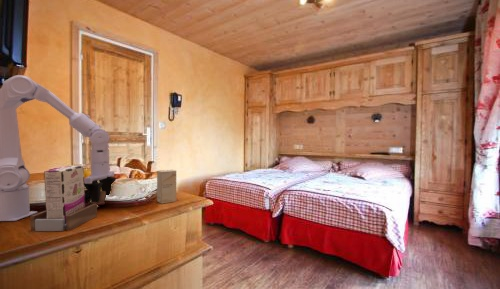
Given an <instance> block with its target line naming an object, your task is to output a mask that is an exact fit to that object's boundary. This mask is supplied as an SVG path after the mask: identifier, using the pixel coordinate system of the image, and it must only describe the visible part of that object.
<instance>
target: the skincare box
mask: <svg viewBox="0 0 500 289" xmlns="http://www.w3.org/2000/svg"><path fill="white" fill-rule="evenodd" d="M156 173H157V174H156V176H157V177H156V181H157V184H156V185H157V186H156V191H157V192H156V200H157V202H158V203H160V204H168V203H174V202H177V170H175V169H165V170H157V171H156Z"/></svg>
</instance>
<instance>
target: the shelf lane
mask: <svg viewBox="0 0 500 289" xmlns="http://www.w3.org/2000/svg"><path fill="white" fill-rule="evenodd" d="M96 217H98V207H97V204H96V203H92V204H90V205H87V206H85V208H83V209H81V210H79V211H76V212H74V213H72V214H70V215H67V216H66V228H67V229H66V231H67V232H68V231H72V230H74V229H76V228H78V227H79V226H81V225H83V224H86V223H87V222H88V221H91V220H92V219H94V218H96ZM36 219H47V218H46V209H45V210H42V211H40V212H37V213H35V214H33V215H30V231H31V232H33V231H35V220H36ZM35 232H36V231H35Z"/></svg>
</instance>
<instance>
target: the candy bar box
mask: <svg viewBox="0 0 500 289" xmlns="http://www.w3.org/2000/svg"><path fill="white" fill-rule="evenodd" d="M84 175H85V169H84V165H82V164H79V165H75V164H74V165H72V164H71V165H67V166H60V167H57V168H54V169H48V170H44V172H43V177H44V196H45V210H46V218H47V219H65V224H66V216H67V215H70V214H72V213H74V212H76V211H79V210H81V209H83V208H85V207H86V197H85V196H86V194H85V186H84V183H85V176H84Z"/></svg>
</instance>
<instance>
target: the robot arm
mask: <svg viewBox="0 0 500 289" xmlns="http://www.w3.org/2000/svg"><path fill="white" fill-rule="evenodd" d="M33 100H36V101H39V102H43V103H46V104H48V105H49V106H50V107H52V108H53V109H55V110H56V111H57V112H59V113H60V114H61V115H62V116H64V117H65V118H67V119H68V124H69V126H70V127H72V128H73V129H74V130H76V131H77V132H78V133H80V134H81V135H82V136H84V137H85V138H89V141H90V142H91V149H90V175H88V176H87V177H84V189H86V191H87V192H88V194H89V197H90V200H91V202H92V203H96V202H99V199H100V191H106V195H109V194H110V195H111V193H110V191H111V192H112V189H111V184H112V183H113V182H114V181H115V182H116V179H117V178H116V177H115V171H111V170H110V149H109V145H110V144H109V143H108V142H110V135H109V133H108V132H107V131H106V130H105V129H102V125H101V124H99V125H98V123H96V122H95V121H93V120H92V119H91V116H90V115H89V114H85V113H83V112H76V111H75V110H73V109H72V108H71V107H70V106H69V105H67V104H66V103H65V102H64V101H63V100H61V98H59V97H58V96H57V95H55V94H54V93H53V92H52V91H50V90H49V89H47V88H46V87H44V86H43V85H41V84H39V83H37V82H35V81H34V80H33V79H32V78H30V77H28V76H26V75H22V74H21V75H20V74H17V75H13V76H11V77H9V78H8V79H5V80H4V81H3V83H2V86H1V87H0V222H16V221H18V220H22V219H23V218H24V219H25V218H27V217H29V216H32V215H35V214H37V213H38V211H37V210H36V211H35V210H31V208H30V204H31V203H30V185H28V184H27V182H28V181H29V179H30V176H31V174H30V171H29V170H28V168H26V164H25V161H24V159H23V157H22V149H21V139H20V138H21V137H20V131H19V122H18V116H17V115H18V113H17V108H19V107H21V106H22V105H23V104H26V103H27V102H30V101H33ZM115 182H114V183H115Z"/></svg>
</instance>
